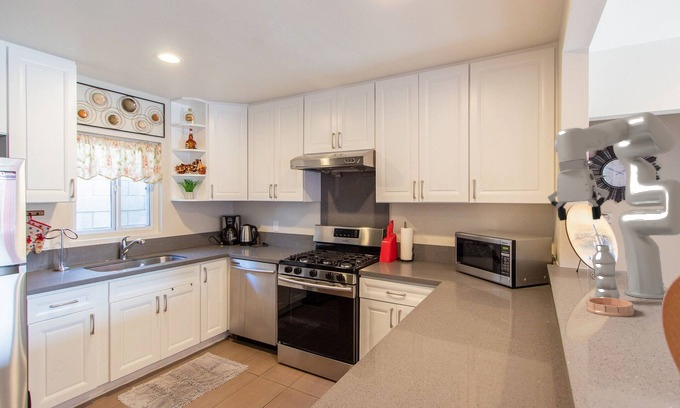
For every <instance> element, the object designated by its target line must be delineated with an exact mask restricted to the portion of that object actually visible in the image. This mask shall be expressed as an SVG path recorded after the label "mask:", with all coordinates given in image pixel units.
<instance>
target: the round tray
mask: <svg viewBox="0 0 680 408" xmlns="http://www.w3.org/2000/svg"><path fill="white" fill-rule="evenodd" d="M585 303H586V304H585V305H586V307H585V308H586V309H585V310H586V311H587V312H589V313H592V314H596V315H598V316H604V317H605V316H606V317H616V318H617V317H618V318H623V317H625V318H626V317H632V316H634V315H635V310H634V309H635V308H634V304H633V302H632V301H629V300H625V299H622V298H619V299H616V298H606V297H601V298H600V297H596V296H594V297H589V298H586V299H585Z"/></svg>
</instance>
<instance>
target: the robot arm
mask: <svg viewBox="0 0 680 408" xmlns="http://www.w3.org/2000/svg"><path fill="white" fill-rule="evenodd" d="M675 143H676V140H675V137H674V135H673V133H672V131H670V130H669V128H668V127H667V126H666V125H665V123H664V122H663V121H662V120H661V118H660V117H658V116H657V115H655V114H654V113H651V112H649V111H648V112H641V113H637V114H633V115H629V116H624V117H621V118H617V119H613V120H609V121H605V122H602V123H601V122H600V123H597V124H594V125H591V126H588V127H586V128H581V127H572V128H567V129H566V128H565V129H562V130H560V131H558V132H557V133H556V134H555V140H554V143H553V147H554V150H555V152H556V153H557V159H558V167H559V172H558V173H557V179H556V191H555V192H553V193H552V194H550V195H549V196H548V197H547V199H548V201H549V202H550V204H551V205H552V206H553V207H555V209H556V210H557V216H558V219H559V221H566V220H567V210H566V207H565V206H566V204H568V203H576V202H577V203H580V202H589V203H590V204H591V205H592V206H591V216H592V220H594V221H596V220H601V217H602V208H601V207H602V205H604V203H605V202H606V201H607V198H608V197H609V194H610V191H609V190H606V189H604V188H601V187H598V186H597V181H596V179H595V176H594V172H593V169H592V168H591V169H589V168H590V166H591V165H593V160H588V156H587V152H593V151H596V150H599V149H601V148H605V147H606V148H607V147H611V146H613V153H614V154H615V156H616V157H617V159H618V161H619V162H620V164H621V165H622V167H623V168H624V171H625V190H624V191H625V195H624V196H625V202H626V204H627V205H628V206H630V207H635V208H641V209H630V210H626V211H623V212H622V213H620V215H619V216H618V218H617V219H618V220H617V223H618V227H619V230H620V232H621V236H622V238H623V244H624V245H623V246H624V256H625V257H624V258H625V264H626V271H627V273H626V274H627V281H628V282H627V283H628V284H627V285H628V288H624V289H623V293H624V295H627V296H631V297H633V298H634V297H635V298H641V299H655V300H660V299H661V300H663V299H664V298H663V297H664V294H665V292H667V291H666V290H665V289H664V285H665V283H664V281H663V272H662V264H661V252H660V247H659V245H658V243H657V242H656V241H655V240H654V239H652V237H651V236H663V237H664V236H677V235H680V181H679V180H676V179H669V178H667V179H659V180H657V169H656V168H655V166H654V164H652V163H650V162H649V161H648V160H646V159H644V158H645V157H650V156H657V155H662V154H663V155H664V154H667V153H669V152H671V151H672V150H673V149H674V148H675ZM643 157H644V158H643ZM599 194H600V195H601V196H600V197H599ZM556 198H557V200H556ZM645 207H646V208H645ZM648 207H663V208H651V209H650V208H648ZM642 208H645V209H642ZM647 208H648V209H647Z"/></svg>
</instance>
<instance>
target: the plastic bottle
mask: <svg viewBox="0 0 680 408" xmlns="http://www.w3.org/2000/svg"><path fill="white" fill-rule="evenodd" d="M610 250H611V249H610V246H609V245H608V244H596V245H595V254H594V255H593V256H592V259H591V262H592V266H593V269H594V273H595V274H594V275H595V282H596V283H595V294H594V295H595V297H600V298H601V297H606V298H616V299H620V292H619V289H618V285H617V282H616V259H615V257H614V256H613V255H612V254H611V253H610V252H609V251H610Z"/></svg>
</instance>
